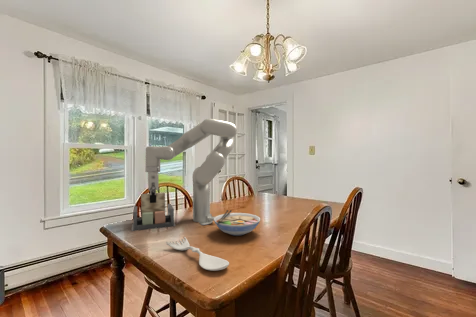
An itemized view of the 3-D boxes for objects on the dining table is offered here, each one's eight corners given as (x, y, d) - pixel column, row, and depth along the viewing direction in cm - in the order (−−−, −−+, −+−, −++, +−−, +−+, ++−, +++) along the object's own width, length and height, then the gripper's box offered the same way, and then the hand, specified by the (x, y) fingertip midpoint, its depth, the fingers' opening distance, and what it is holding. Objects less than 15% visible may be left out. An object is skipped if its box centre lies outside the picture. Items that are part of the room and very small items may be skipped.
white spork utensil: (184, 243, 101) (184, 235, 101) (234, 269, 78) (234, 259, 78) (165, 249, 95) (165, 240, 95) (213, 279, 72) (213, 268, 72)
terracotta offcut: (164, 223, 124) (164, 210, 124) (165, 225, 121) (165, 212, 121) (154, 224, 123) (154, 211, 122) (155, 226, 119) (155, 213, 119)
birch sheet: (164, 221, 129) (164, 192, 129) (165, 222, 127) (164, 193, 127) (141, 223, 124) (141, 194, 124) (141, 224, 122) (141, 194, 122)
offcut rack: (172, 221, 133) (172, 203, 133) (175, 228, 120) (175, 208, 120) (132, 226, 125) (132, 206, 125) (131, 234, 112) (131, 212, 112)
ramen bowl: (257, 244, 99) (257, 225, 99) (206, 240, 103) (206, 222, 103) (262, 227, 123) (262, 211, 123) (221, 224, 128) (221, 209, 128)
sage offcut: (152, 225, 122) (152, 211, 122) (153, 227, 118) (152, 213, 118) (142, 226, 120) (142, 212, 120) (142, 228, 117) (142, 214, 116)
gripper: (161, 170, 119) (161, 203, 119) (159, 168, 135) (158, 197, 135) (145, 170, 116) (145, 204, 116) (145, 168, 132) (144, 198, 132)
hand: (152, 201), depth 125 cm, fingers open, 9 cm apart
